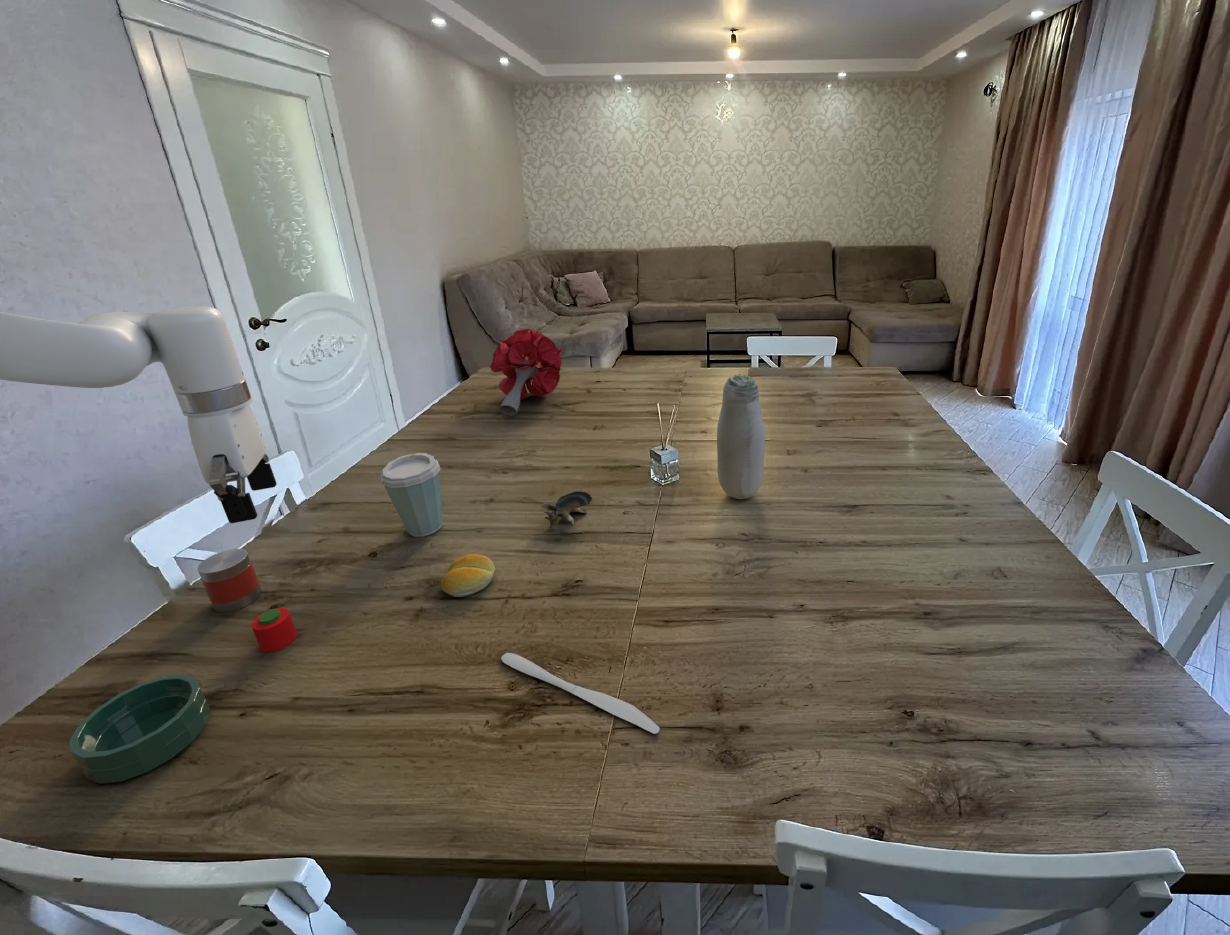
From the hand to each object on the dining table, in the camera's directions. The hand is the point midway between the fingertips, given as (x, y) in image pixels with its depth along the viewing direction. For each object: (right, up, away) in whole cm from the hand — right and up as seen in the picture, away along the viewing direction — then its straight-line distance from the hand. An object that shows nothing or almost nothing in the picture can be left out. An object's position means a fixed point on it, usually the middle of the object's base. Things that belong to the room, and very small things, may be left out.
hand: (254, 503), depth 83 cm
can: (-12, -18, +11) cm, 25 cm away
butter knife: (+50, -25, -7) cm, 56 cm away
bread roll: (+26, -17, +15) cm, 34 cm away
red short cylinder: (+2, -22, +2) cm, 22 cm away
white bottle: (+75, -6, +42) cm, 86 cm away
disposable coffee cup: (+10, -11, +30) cm, 34 cm away
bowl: (-2, -28, -13) cm, 31 cm away
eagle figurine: (+39, -10, +33) cm, 52 cm away
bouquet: (+9, +16, +98) cm, 99 cm away
